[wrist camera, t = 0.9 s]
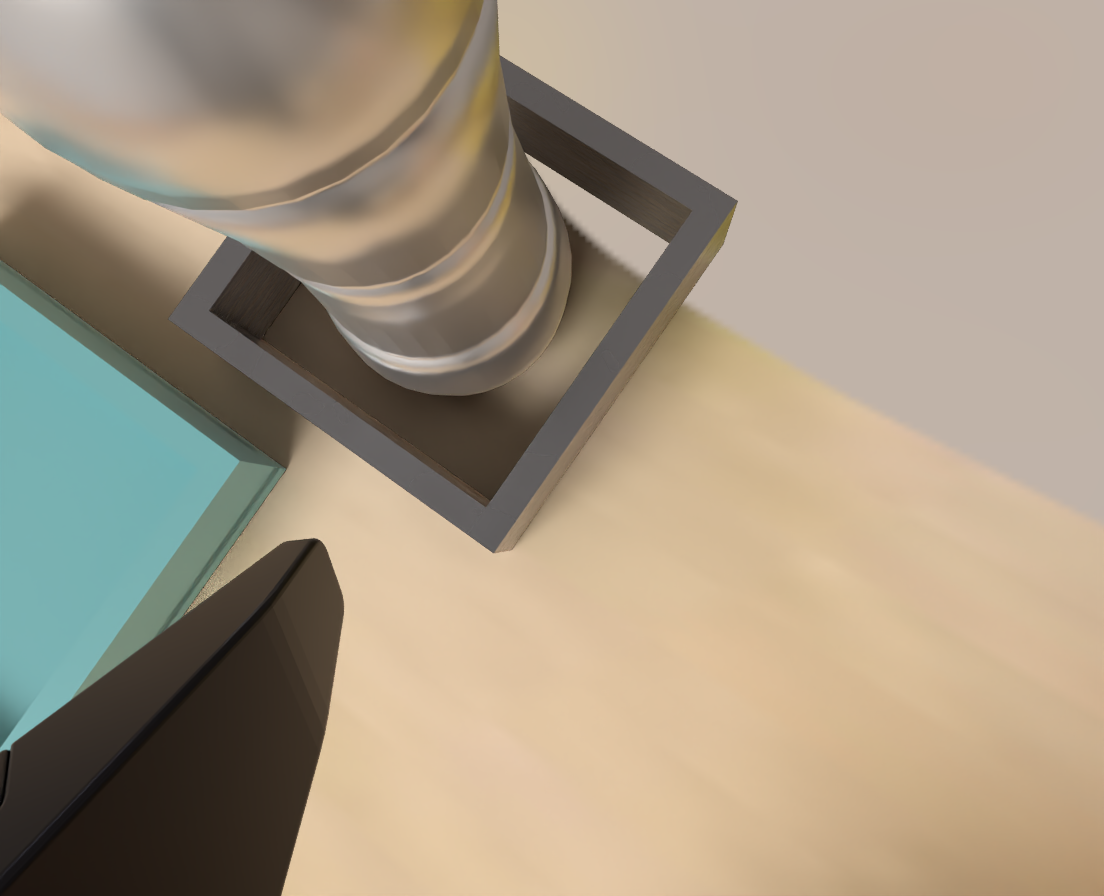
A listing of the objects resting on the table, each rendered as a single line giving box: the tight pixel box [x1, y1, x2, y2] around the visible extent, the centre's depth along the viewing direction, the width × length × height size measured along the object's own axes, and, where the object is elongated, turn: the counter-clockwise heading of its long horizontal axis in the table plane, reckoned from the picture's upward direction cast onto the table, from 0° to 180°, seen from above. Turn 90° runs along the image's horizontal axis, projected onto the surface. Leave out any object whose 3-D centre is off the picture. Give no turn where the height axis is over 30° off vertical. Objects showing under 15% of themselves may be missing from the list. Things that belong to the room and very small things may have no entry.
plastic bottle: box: [0, 0, 572, 396], centre depth 13 cm, size 6×7×20 cm
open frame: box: [168, 55, 738, 553], centre depth 22 cm, size 11×11×3 cm
